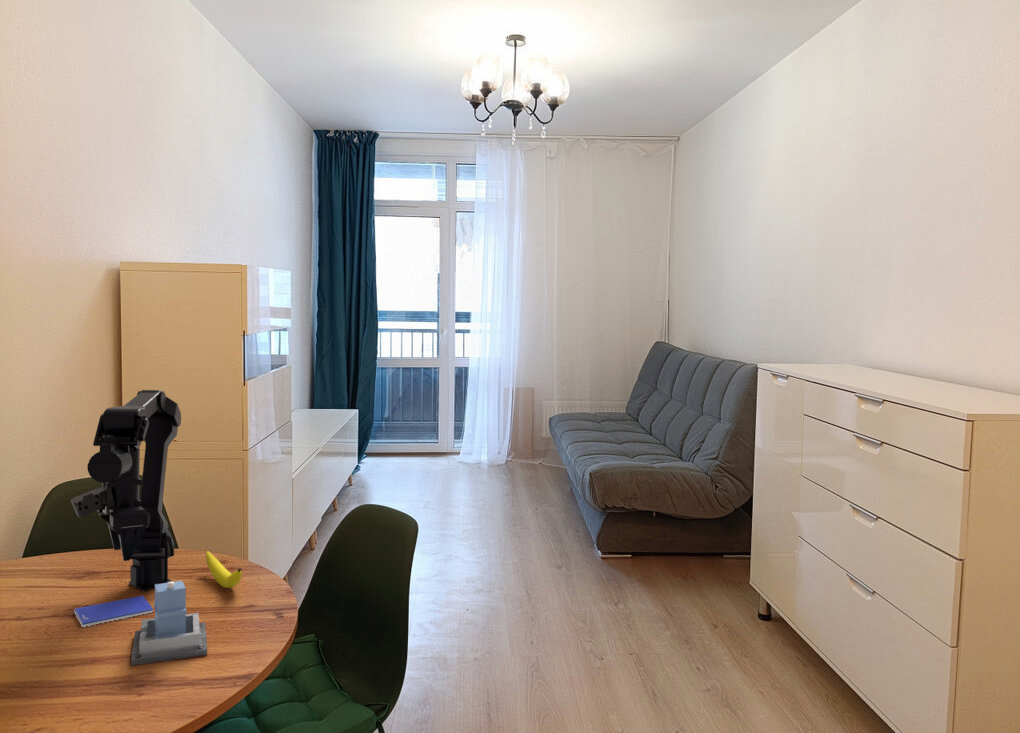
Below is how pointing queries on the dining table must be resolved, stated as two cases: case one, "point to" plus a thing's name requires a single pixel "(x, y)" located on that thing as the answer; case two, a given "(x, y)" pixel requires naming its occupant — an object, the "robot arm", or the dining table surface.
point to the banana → (222, 572)
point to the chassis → (169, 642)
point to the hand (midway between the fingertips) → (121, 555)
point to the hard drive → (112, 611)
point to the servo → (170, 609)
